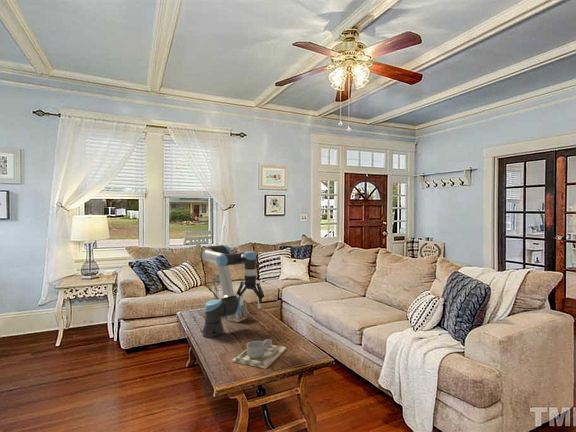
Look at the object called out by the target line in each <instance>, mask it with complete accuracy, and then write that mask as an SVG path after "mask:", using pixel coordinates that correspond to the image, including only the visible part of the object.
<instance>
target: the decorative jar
mask: <svg viewBox="0 0 576 432" xmlns="http://www.w3.org/2000/svg"><path fill="white" fill-rule="evenodd" d="M237 298H239V296H237ZM247 319H248V303H247V301H246V300H245V299H244V298H243V305H242V306H241V311H240V313H239V314H236V315H234V316H233V315H232V316H228V317H226V320H227V321H229V322H235V323H240V322H242V321H245V320H247Z"/></svg>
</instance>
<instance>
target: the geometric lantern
mask: <svg viewBox="0 0 576 432" xmlns="http://www.w3.org/2000/svg"><path fill="white" fill-rule="evenodd" d="M211 280H212V284H213V286H214V292H213V293H214V294H213V300H216V299H217V298H218V292H220V291H221V292H222V290H221V284H220V279H219V274H218V275H216V276H214V277H213V278H211ZM231 280H232V282H233V281H234V280H233V279H232V278H231ZM216 283H217V285H216ZM219 285H220V286H219ZM218 286H219V287H218ZM219 289H220V290H219Z"/></svg>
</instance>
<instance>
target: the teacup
mask: <svg viewBox="0 0 576 432" xmlns="http://www.w3.org/2000/svg"><path fill="white" fill-rule="evenodd" d="M265 343H266V346H264V344H265ZM245 347H246V349H247V354H248V356H249V357H250V358H252V359H259V358H261V357H262V356H263V355H264V352H265V349H266V348H267V347H268V342H267V341H264V340H263V341H262V340H252V341H249V342H247V343H246V346H245Z"/></svg>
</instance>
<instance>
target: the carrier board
mask: <svg viewBox="0 0 576 432" xmlns="http://www.w3.org/2000/svg"><path fill="white" fill-rule="evenodd" d="M264 341H267V342H268V347H267V348H266V349H265V352H264V355H263V356H262V357H261V358H259V359H252V358H250V357H249V356H248V354H247V348H245V349H244V350H243V351H242V352H241V353H240V354H238V355H237V356H236V357H234V358H233V359H232V363H237V364H240V365H246V366H250V367H256V368H260V369H267V368H268V367H270V365H272V363H273V362H275V361H276V360H277V359H278V358H279V357H280V356H281V355H282V354H283V353H284V352H285V351H287V347H285V346H281V345H275V344H273V342H272V339H271V338H267V339H264V340H263V342H264ZM264 346H266V343H265V344H264Z"/></svg>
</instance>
